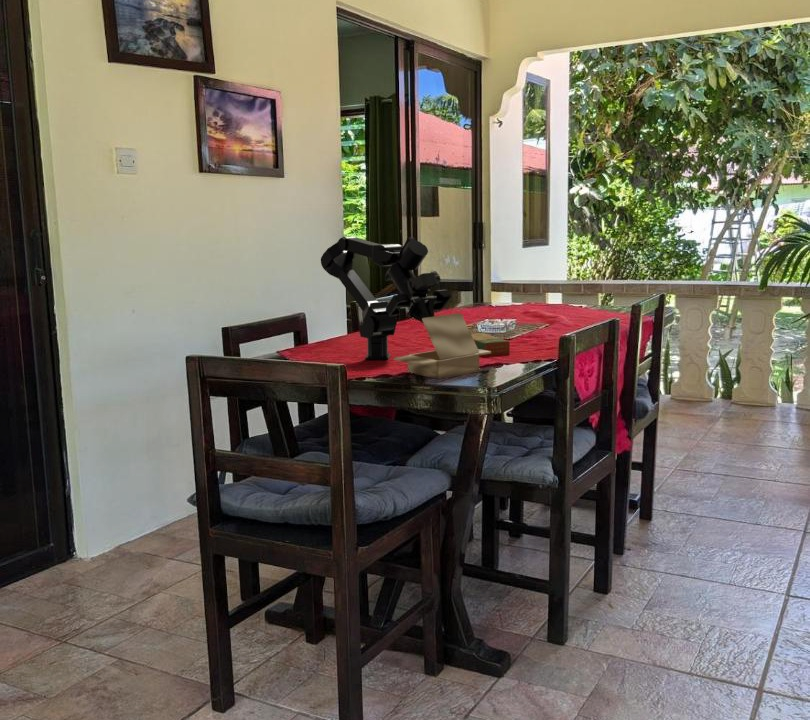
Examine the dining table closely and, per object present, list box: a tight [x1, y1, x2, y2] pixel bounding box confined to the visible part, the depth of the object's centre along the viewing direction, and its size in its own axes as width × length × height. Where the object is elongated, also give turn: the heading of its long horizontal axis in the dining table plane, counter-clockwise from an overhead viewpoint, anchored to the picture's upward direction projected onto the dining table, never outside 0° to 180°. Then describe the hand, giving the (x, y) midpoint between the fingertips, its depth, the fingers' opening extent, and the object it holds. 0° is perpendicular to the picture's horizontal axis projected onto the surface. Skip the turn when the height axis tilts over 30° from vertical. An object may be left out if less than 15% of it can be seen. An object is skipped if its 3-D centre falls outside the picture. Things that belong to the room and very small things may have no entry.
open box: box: [393, 349, 491, 380], centre depth 216 cm, size 12×24×4 cm, turn 130°
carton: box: [471, 332, 511, 357], centre depth 246 cm, size 8×16×4 cm, turn 23°
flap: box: [422, 312, 479, 360], centre depth 213 cm, size 12×13×1 cm
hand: (434, 327), depth 217 cm, fingers closed
